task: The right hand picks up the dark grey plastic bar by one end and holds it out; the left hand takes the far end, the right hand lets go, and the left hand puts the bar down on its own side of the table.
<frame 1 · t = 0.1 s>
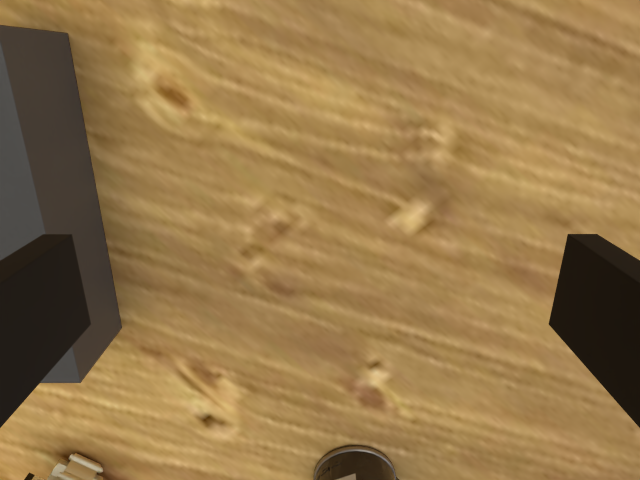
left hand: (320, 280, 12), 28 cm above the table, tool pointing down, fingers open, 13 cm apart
pneumatic valve: (82, 467, 52), on the table
bar: (72, 198, 40), on the table
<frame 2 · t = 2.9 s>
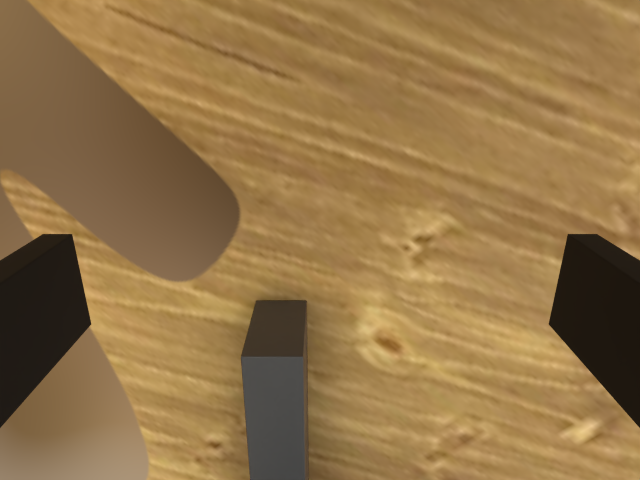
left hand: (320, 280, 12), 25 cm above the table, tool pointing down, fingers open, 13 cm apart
bar: (285, 417, 46), on the table, touching right hand
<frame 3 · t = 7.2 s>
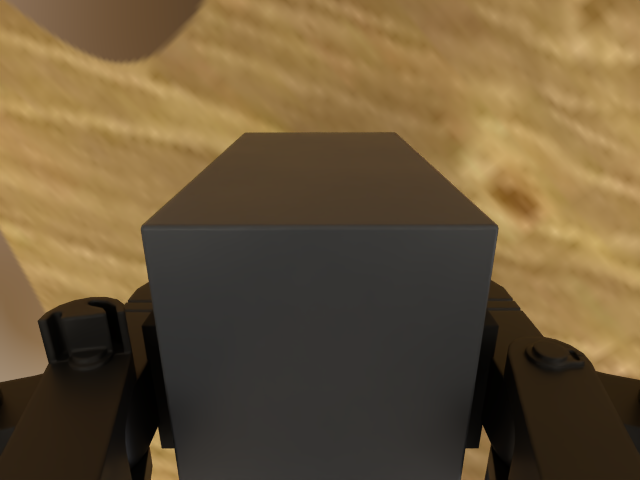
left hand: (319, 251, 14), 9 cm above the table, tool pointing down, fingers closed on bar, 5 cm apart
bar: (320, 468, 18), point 8 cm above the table, touching left hand, right hand
when the right hand's fingers open (12 cm above the table, at t = 7.9 s): bar stays where it is, held by the left hand.
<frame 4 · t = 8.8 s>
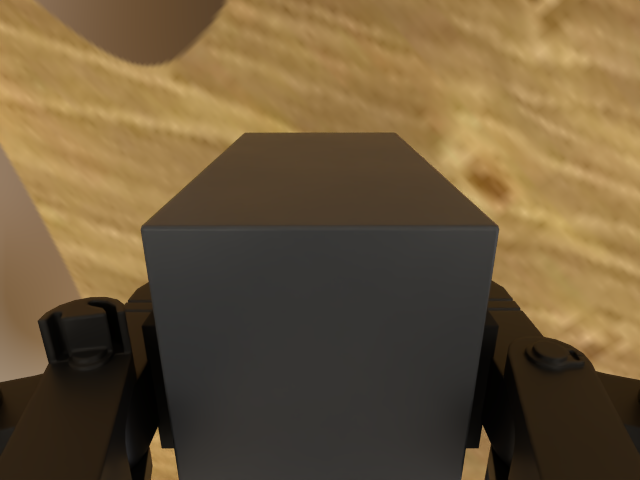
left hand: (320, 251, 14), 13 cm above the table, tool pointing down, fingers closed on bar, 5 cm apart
bar: (320, 469, 18), point 12 cm above the table, touching left hand
when the left hand's fingers open (2 cm above the table, at t = 15.2 s): bar drops 1 cm, on the table.
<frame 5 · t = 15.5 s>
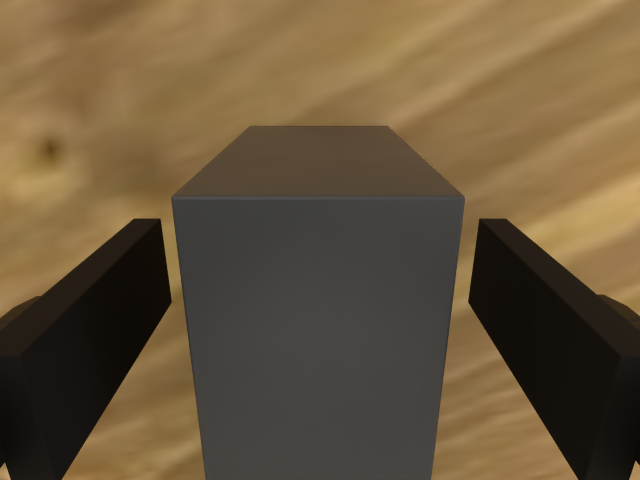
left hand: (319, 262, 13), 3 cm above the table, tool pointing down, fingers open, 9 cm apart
bar: (319, 442, 20), on the table
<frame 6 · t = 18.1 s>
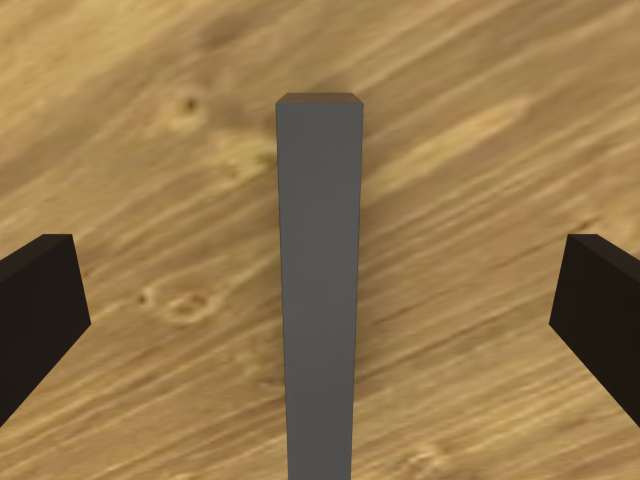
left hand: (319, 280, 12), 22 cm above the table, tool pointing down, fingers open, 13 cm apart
bar: (319, 269, 36), on the table
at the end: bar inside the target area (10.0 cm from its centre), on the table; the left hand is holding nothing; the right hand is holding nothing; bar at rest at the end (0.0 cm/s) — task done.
